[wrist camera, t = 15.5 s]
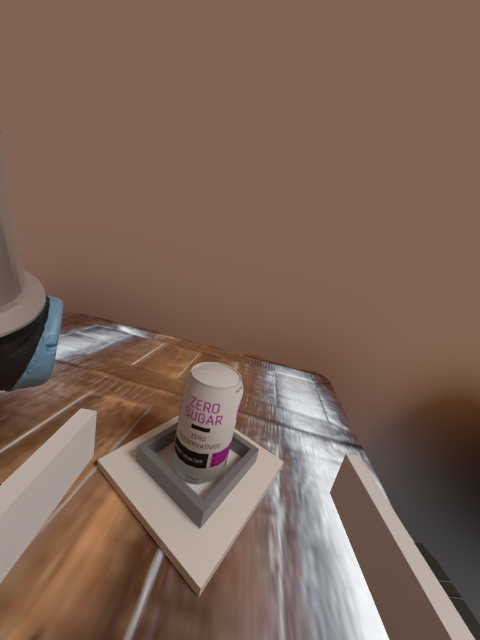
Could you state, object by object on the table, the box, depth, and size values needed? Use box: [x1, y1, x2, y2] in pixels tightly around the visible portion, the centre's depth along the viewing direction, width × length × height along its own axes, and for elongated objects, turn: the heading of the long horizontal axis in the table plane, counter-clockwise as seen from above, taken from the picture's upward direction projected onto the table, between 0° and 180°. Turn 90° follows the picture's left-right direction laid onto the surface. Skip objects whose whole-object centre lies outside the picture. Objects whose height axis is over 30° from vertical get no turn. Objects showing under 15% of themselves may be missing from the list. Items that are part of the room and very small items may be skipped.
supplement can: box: [172, 362, 243, 483], centre depth 33 cm, size 8×8×15 cm
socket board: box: [97, 415, 284, 597], centre depth 35 cm, size 20×20×4 cm
